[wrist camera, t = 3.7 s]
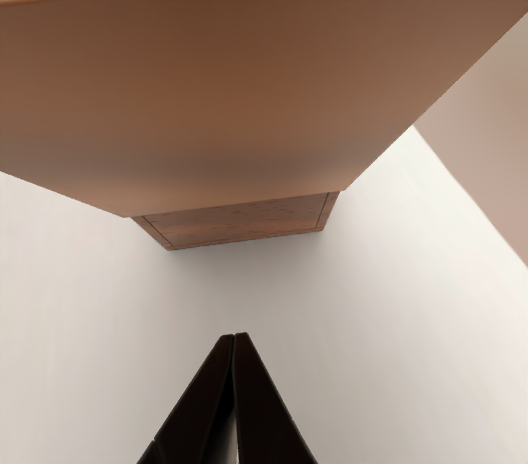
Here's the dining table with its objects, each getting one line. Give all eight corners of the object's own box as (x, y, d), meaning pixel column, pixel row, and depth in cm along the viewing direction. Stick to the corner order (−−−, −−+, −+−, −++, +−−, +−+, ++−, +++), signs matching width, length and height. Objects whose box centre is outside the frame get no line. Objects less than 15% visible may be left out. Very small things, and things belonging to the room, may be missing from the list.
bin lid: (-342, -10, 4) (-353, 39, 4) (587, -103, 4) (603, -61, 4) (122, 205, 16) (123, 218, 16) (342, 178, 16) (344, 190, 16)
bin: (169, 145, 27) (138, 85, 21) (299, 130, 27) (307, 66, 21) (166, 250, 23) (126, 214, 16) (322, 230, 23) (341, 188, 17)
